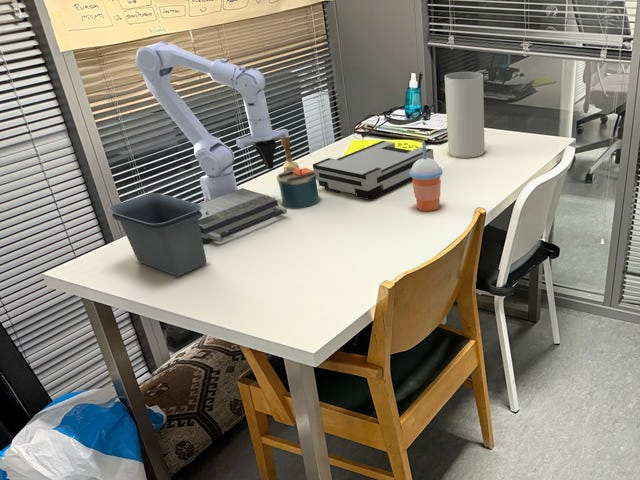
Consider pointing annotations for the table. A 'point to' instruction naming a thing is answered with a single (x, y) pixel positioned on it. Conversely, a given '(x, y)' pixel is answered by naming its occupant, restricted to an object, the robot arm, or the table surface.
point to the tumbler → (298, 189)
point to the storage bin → (163, 231)
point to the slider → (301, 171)
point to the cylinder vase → (465, 114)
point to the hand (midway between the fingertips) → (269, 168)
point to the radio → (235, 213)
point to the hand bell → (288, 155)
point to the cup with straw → (426, 182)
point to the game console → (369, 170)
